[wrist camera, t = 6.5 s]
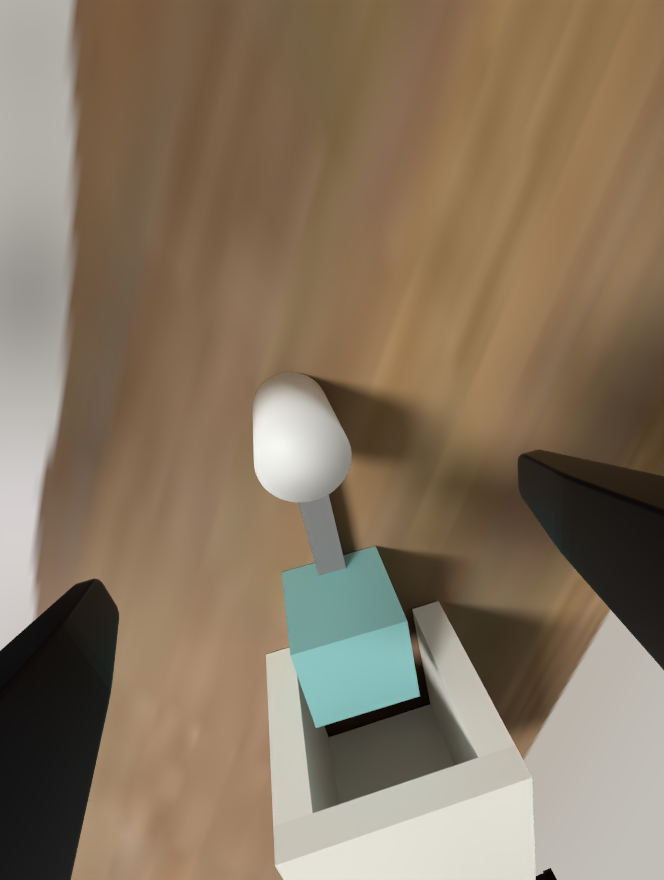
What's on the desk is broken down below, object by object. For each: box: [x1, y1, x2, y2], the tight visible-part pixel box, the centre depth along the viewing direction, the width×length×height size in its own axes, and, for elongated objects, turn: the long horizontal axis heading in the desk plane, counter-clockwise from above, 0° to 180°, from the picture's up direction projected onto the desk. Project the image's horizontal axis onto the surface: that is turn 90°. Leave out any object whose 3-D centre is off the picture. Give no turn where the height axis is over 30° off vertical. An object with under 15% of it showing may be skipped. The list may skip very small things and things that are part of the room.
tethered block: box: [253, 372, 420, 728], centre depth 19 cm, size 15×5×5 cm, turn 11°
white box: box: [266, 601, 536, 880], centre depth 23 cm, size 10×10×9 cm
